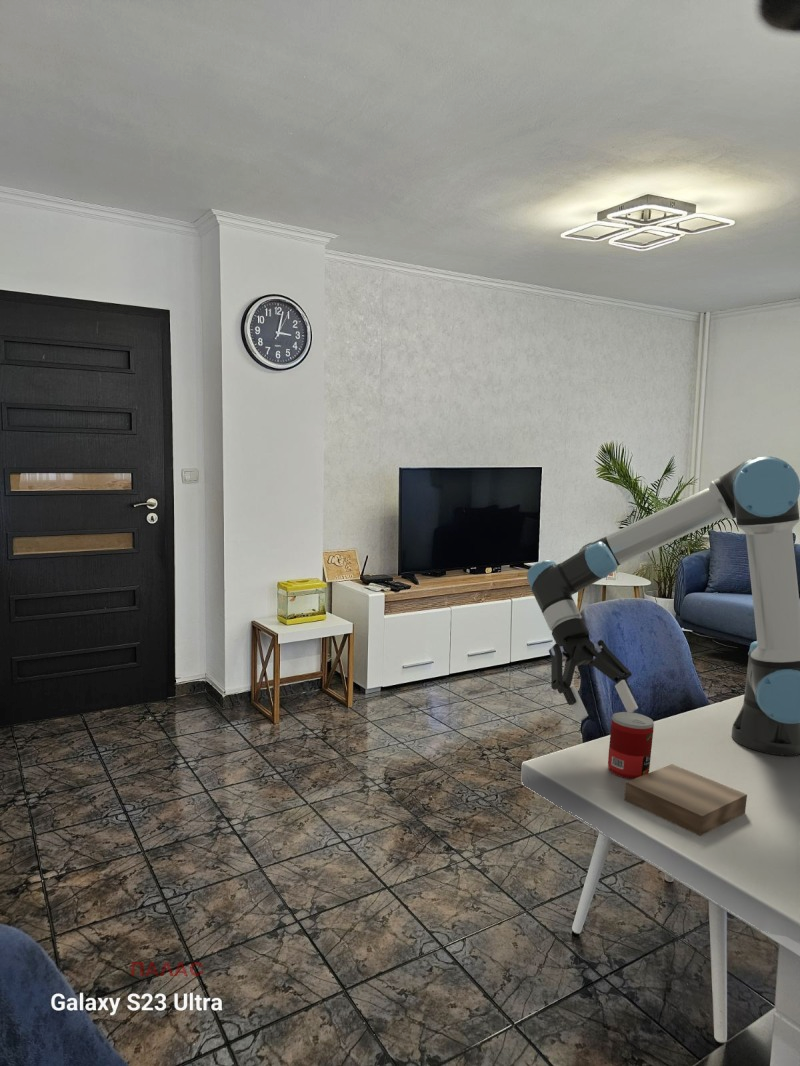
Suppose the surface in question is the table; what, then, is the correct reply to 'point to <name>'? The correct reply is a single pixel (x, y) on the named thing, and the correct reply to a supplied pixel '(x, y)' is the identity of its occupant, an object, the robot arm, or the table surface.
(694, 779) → the walnut stand
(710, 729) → the table surface
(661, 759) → the table surface
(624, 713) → the canned food
